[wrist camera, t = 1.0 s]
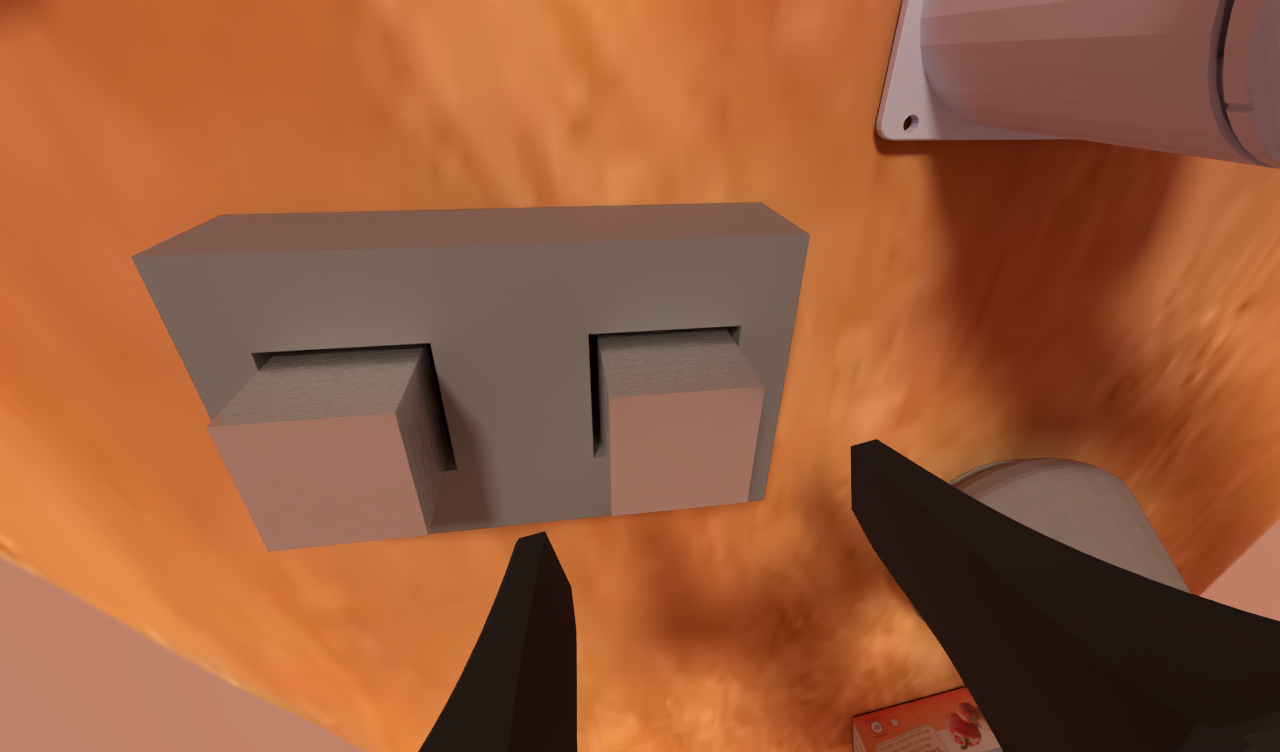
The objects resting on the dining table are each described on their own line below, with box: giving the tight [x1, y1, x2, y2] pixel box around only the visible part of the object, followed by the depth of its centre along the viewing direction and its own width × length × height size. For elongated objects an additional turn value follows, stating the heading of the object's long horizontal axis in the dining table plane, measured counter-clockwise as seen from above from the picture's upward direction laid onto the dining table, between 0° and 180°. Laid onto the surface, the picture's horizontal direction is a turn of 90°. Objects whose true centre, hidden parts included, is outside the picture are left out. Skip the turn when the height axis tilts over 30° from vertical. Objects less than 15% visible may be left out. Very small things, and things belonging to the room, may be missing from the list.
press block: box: [132, 202, 810, 534], centre depth 18 cm, size 17×10×4 cm, turn 89°
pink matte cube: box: [597, 327, 765, 516], centre depth 16 cm, size 4×4×4 cm
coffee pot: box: [909, 458, 1192, 620], centre depth 23 cm, size 21×12×15 cm, turn 100°
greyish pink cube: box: [207, 343, 449, 551], centre depth 15 cm, size 4×4×4 cm
